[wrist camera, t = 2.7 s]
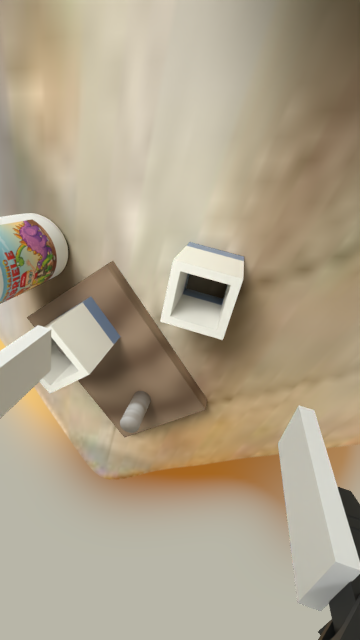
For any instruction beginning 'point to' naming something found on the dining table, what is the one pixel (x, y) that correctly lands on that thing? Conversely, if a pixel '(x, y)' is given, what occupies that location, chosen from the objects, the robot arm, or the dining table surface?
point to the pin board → (130, 358)
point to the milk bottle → (29, 253)
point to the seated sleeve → (78, 344)
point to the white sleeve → (195, 306)
